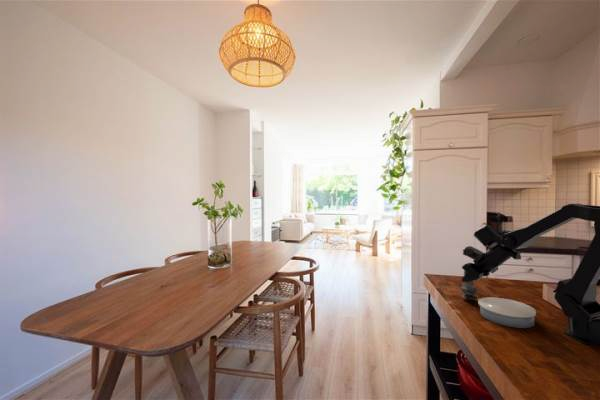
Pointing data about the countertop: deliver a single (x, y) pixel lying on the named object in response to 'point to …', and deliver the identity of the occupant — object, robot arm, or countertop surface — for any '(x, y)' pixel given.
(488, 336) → the countertop surface
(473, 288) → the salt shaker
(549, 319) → the countertop surface
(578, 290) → the robot arm
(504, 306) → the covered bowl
